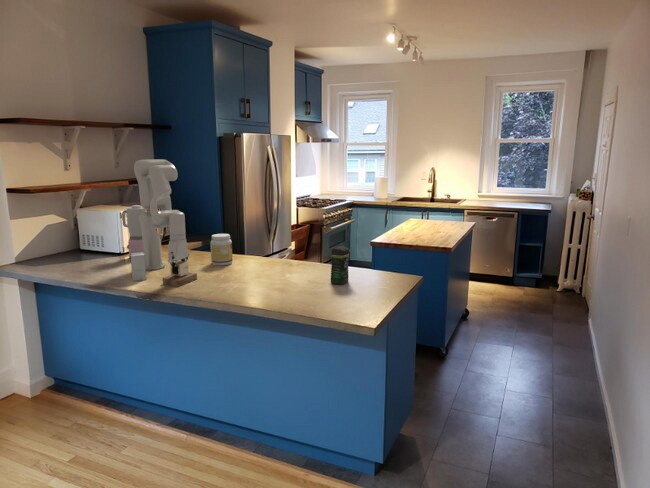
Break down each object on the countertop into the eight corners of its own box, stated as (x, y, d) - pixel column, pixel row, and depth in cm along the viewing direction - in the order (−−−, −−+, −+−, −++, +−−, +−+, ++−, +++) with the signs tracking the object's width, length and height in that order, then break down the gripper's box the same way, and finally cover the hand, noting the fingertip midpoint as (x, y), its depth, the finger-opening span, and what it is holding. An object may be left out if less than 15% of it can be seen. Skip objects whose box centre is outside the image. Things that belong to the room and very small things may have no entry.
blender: (154, 256, 296) (151, 204, 289) (144, 260, 284) (141, 207, 277) (130, 255, 298) (127, 204, 291) (120, 259, 286) (115, 206, 280)
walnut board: (162, 284, 236) (162, 278, 236) (181, 277, 249) (180, 271, 248) (179, 286, 233) (179, 280, 232) (197, 279, 245) (196, 273, 245)
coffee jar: (342, 286, 235) (343, 249, 231) (328, 283, 239) (328, 247, 235) (350, 281, 243) (351, 245, 240) (337, 279, 247) (337, 244, 243)
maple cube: (171, 275, 238) (170, 263, 237) (178, 272, 244) (178, 260, 243) (180, 276, 236) (180, 264, 235) (188, 273, 242) (187, 261, 241)
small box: (146, 279, 244) (144, 254, 241) (133, 281, 241) (131, 256, 238) (144, 275, 251) (143, 251, 248) (132, 277, 248) (130, 252, 245)
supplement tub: (236, 264, 277) (235, 235, 274) (216, 267, 270) (214, 237, 267) (227, 260, 287) (226, 232, 283) (208, 262, 280) (206, 234, 277)
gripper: (182, 233, 245) (184, 267, 249) (159, 239, 230) (162, 275, 233) (194, 234, 243) (196, 269, 246) (172, 240, 227) (174, 277, 231)
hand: (179, 271), depth 240 cm, fingers closed on maple cube, 5 cm apart
